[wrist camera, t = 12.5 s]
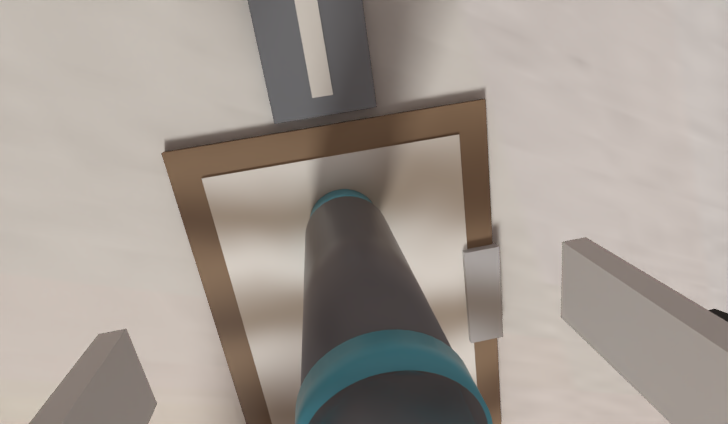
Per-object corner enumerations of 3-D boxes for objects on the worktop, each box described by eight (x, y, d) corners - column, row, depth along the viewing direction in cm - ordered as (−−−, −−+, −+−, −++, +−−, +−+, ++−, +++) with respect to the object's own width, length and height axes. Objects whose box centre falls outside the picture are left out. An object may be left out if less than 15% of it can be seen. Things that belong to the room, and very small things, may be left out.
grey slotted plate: (240, -40, 18) (238, -43, 17) (353, -55, 18) (354, -59, 18) (275, 122, 20) (274, 124, 20) (375, 106, 21) (376, 107, 20)
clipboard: (164, 151, 20) (158, 154, 19) (485, 98, 21) (492, 99, 20) (266, 479, 27) (264, 491, 26) (501, 426, 28) (507, 436, 28)
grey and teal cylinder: (296, 191, 21) (272, 392, 8) (377, 176, 21) (488, 346, 8) (312, 265, 22) (315, 541, 9) (388, 250, 23) (497, 498, 9)
